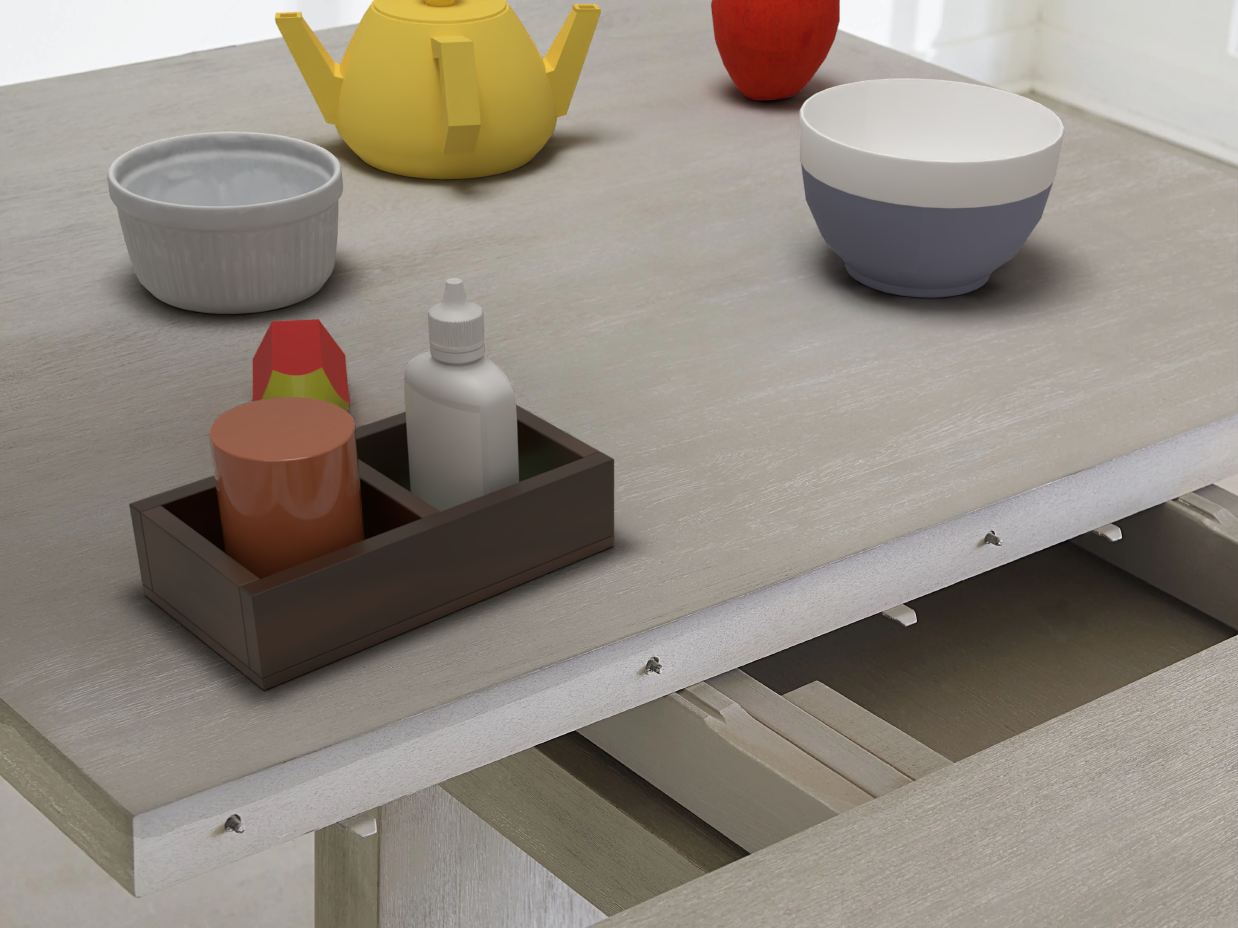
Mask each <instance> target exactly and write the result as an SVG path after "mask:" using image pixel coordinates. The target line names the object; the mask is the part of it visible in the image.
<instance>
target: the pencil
mask: <svg viewBox="0 0 1238 928" xmlns="http://www.w3.org/2000/svg"><path fill="white" fill-rule="evenodd" d="M346 359H347V358H346V354H345V352H344V351H343V350H342V348H341V347H340V345H339V344H338V343H337V342H336V341H335V339H334V337H333V336H332V335H331V334H330V332H329V331H328V330H327V328H326V327H325V326H324V324H323V323H322V321H321V320H320V319H319V318H314V319H292V320H291V319H290V320H271V322H270V323H269V326H268V328H267V330H266V331H265V333H264V335H263V337H262V340H261V342H260V343H259V345H258V348H257V350H256V352H255V354H254V355H253V357H252V401H257V400H262V399H269V398H279V397H301V398H311V399H317V400H322V401H326V402H329V403H332V404H334V405H337V406H339V407H341V408H343V409H344V410H345V411H347V412H348V411H349V409H350V405H351V402H350V391H349V380H348V379H349V378H348V372H347V371H348V369H347V360H346ZM348 413H349V412H348Z"/></svg>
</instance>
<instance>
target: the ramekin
mask: <svg viewBox="0 0 1238 928" xmlns="http://www.w3.org/2000/svg"><path fill="white" fill-rule="evenodd" d="M107 186H108V193H109V197H110V199H111V201H112V203H113V205H114V206H115V207H116V209H117V210H116V211H117V215H118V219H119V224H120V227H121V231H122V234H123V239H124V243H125V247H126V250H127V254H128V256H129V260H130V263H131V265H132V268H133V271H134V273H135V276H136V277H137V279H138V281H139V283H140V284H141V285H142V286H143V287H144V288H145V289H146V290H147V291H148V292H149V293H150V294H151V295H152V296H153V297H155V298H156V299H158V300H159V301H161V302H163V303H164V304H167V305H169V306H172V307H175V308H178V309H182V310H186V311H191V312H195V313H205V314H215V315H239V314H240V315H241V314H253V313H264V312H268V311H273V310H278V309H283V308H285V307H289V306H292V305H295V304H298V303H301V302H302V301H305V300H307V299H310V297H312V296H314V295H315V294H317V293H318V292H319V291H320V290H321V289H322V288H323V286H324V285H325V283H326V282H327V281H328V279H329V278H330V277H331V275H332V274H333V271H334V268H335V264H336V260H337V259H336V258H337V248H338V235H339V200H340V198H341V197H342V195H343V190H344V180H343V169H342V165H341V163H340V160H339V159H338V158H337V157H336V155H334V154H333V153H332V152H331V151H329V150H327V149H326V148H324V147H322V146H320V145H318V144H315V143H313V142H309V141H306V140H304V139H300V138H297V137H291V136H286V135H281V134H276V133H275V134H274V133H266V132H256V131H255V132H254V131H210V132H209V131H207V132H199V133H198V132H197V133H189V134H181V135H176V136H171V137H165V138H161V139H157V140H152V141H150V142H149V141H148V142H146V143H144V144H141V145H137V146H135V147H133V148H131V149H129V150H127V151H125V152H123V153H122V154H120V155H119V156H117V157H116V158H115V159H114V160H113V161H112V162H111V163H110V165H109V168H108V170H107Z"/></svg>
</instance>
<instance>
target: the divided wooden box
mask: <svg viewBox="0 0 1238 928" xmlns="http://www.w3.org/2000/svg"><path fill="white" fill-rule="evenodd" d="M516 414H517V437H518V465H519V482H518V483H516V484H513V485H510V486H508V487H505V488H502V489H500V490H497V491H494V492H492V493H489V494H486V495H484V496H481V497H478V498H476V499H473V500H470V501H468V502H465V503H462V504H460V505H457V506H454V507H452V508H449V509H446V510H444V511H441V512H440V511H439V510H438V509H436V508H435V507H433V506H431V505H430V504H428V503H427V502H425V501H424V500H422V499H420V498H419V497H417V496H416V495H414V494H413V493H411V486H410V471H409V456H408V441H407V425H406V411H402V412H400V413H398V414H394V415H391V416H388V417H384V418H382V419H379V420H376V421H373V422H370V423H367V424H363V425H361V426H357V427H355V430H356V441H357V453H358V464H359V476H360V488H361V499H362V511H363V522H364V534H365V540H363V541H361V542H358V543H355V544H353V545H350V546H347V547H345V548H342V549H339V550H337V551H334V552H331V553H329V554H326V555H323V556H321V557H318V558H315V559H313V560H310V561H307V562H305V563H302V564H299V565H297V566H294V567H291V568H289V569H286V570H283V571H281V572H278V573H275V574H273V575H270V576H267V577H265V578H262V579H259V578H258V577H257V576H255V575H254V574H253V573H251V572H250V571H249V570H247V569H246V568H245V567H243V566H242V565H241V564H239V563H238V562H236V561H235V560H234V559H232V558H231V557H230V556H228V555H227V554H226V553H225V549H224V542H223V535H222V527H221V520H220V512H219V505H218V498H217V490H216V483H215V475H214V474H213V475H210V476H208V477H205V478H202V479H198V480H196V481H193V482H190V483H187V484H184V485H181V486H178V487H175V488H172V489H169V490H166V491H163V492H160V493H157V494H154V495H151V496H148V497H145V498H142V499H139V500H136V501H133V502H129V504H128V507H129V512H130V519H131V525H132V530H133V536H134V542H135V548H136V549H135V550H136V554H137V560H138V566H139V572H140V578H141V583H142V590H143V595H144V596H146V597H147V598H149V599H150V600H151V601H152V602H153V603H155V604H156V606H158V607H159V608H160V609H162V610H163V611H164V612H166V613H167V614H168V615H170V616H171V617H172V618H173V619H174V620H176V621H177V622H178V623H180V624H181V625H182V626H183V627H184V628H186V629H187V630H188V631H189V632H191V633H192V634H193V635H195V636H196V637H197V638H198V639H199V640H200V641H202V642H203V643H205V644H206V645H207V646H208V647H210V648H211V649H212V650H214V652H216V653H217V654H218V655H220V656H221V657H222V658H223V659H224V660H226V662H228V663H230V664H231V665H232V666H233V667H234V668H236V669H237V670H238V671H239V672H241V673H242V674H243V675H245V676H246V677H247V678H248V679H250V681H252V682H253V683H254V684H256V685H257V686H258V687H259V688H261V689H262V690H263V691H266V690H269V689H271V688H273V687H275V686H278V685H280V684H283V683H285V682H288V681H290V680H293V679H295V678H298V677H300V676H302V675H306V674H307V673H309V672H312V671H314V670H317V669H319V668H321V667H324V666H326V665H329V664H331V663H334V662H335V661H338V660H342V659H343V658H346V657H349V656H351V655H353V654H355V653H358V652H360V651H363V650H365V649H368V648H370V647H372V646H375V645H377V644H380V643H382V642H384V641H387V640H389V639H392V638H394V637H397V636H398V635H401V634H404V633H406V632H408V631H412V630H414V629H416V628H418V627H421V626H424V625H426V624H428V623H430V622H433V621H435V620H438V619H440V618H443V617H445V616H447V615H450V614H453V613H454V612H457V611H459V610H462V609H464V608H466V607H467V608H468V607H469V606H471V605H474V604H477V603H479V602H481V601H483V600H486V599H489V598H491V597H494V596H496V595H498V594H500V593H503V592H506V591H507V590H510V589H512V588H515V587H517V586H518V587H519V586H520V585H523V584H526V583H527V582H529V581H532V580H534V579H537V578H540V577H541V576H544V575H546V574H549V573H551V572H553V571H556V570H559V569H562V568H563V567H566V566H568V565H570V564H573V563H575V562H578V561H580V560H583V559H585V558H588V557H591V556H593V555H595V554H597V553H600V552H602V551H604V550H607V549H610V548H611V547H614V546H615V458H613V457H611V455H610V456H609V455H608V454H606V453H604V452H602V451H600V450H599V449H596V448H595V447H593V446H591V445H590V444H588V443H586V442H584V441H582V440H581V439H579V438H577V437H576V436H573V435H571V434H570V433H568V432H566V431H565V430H563V429H561V428H559V427H558V426H556V425H553V424H552V423H550V422H548V421H547V420H545V419H543V418H541V417H539V416H538V415H537V414H534V413H532V412H531V411H528V410H527V409H525V408H523V407H522V406H520V405H518V404H516Z"/></svg>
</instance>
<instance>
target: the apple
mask: <svg viewBox="0 0 1238 928" xmlns="http://www.w3.org/2000/svg"><path fill="white" fill-rule="evenodd" d="M840 7H841V0H711V3H710V10H711V19H712V28H713V36H714V42H715V45H716V47H717V51H718V53H719V57H720V58H721V62H722V64H723V67H724V69H725V71H726V72H727V73H728V76H729V77H730V79H731V82H732V83H733V84H734V85H735V87H736V89H737V90H738V91H739V92H740V93H741V94H742V95H743V96H745V97H746V98H747V99H749V100H752V101H757V102H758V101H760V102H761V101H775V100H782V99H783V100H784V99H787V98H791V97H794V96H796V95H798V94H799V93H801V92H802V90H803V89H804V88H805V87H806V86H807V85H808V83H810V82H811V80H812V79H813V77H814V76H815V75H816V73H817V72H818V71H819V69H820V67H821V66H822V64H824V62H825V60H826V59H827V57H828V55H829V53H830V51H831V49H832V46H833V44H834V42H835V41H836V36H837V32H838V29H839V25H840V21H841V8H840Z"/></svg>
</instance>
